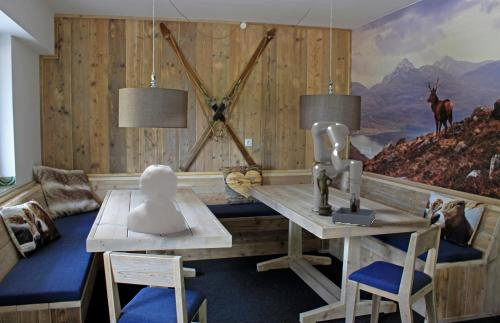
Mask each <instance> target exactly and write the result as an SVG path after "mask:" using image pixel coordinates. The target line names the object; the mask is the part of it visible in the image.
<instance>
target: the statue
mask: <svg viewBox="0 0 500 323" xmlns="http://www.w3.org/2000/svg"><path fill="white" fill-rule="evenodd" d="M320 172H321V175H320V176H318V177H317V178H316V181H317V186H318V189H319V192H320V195H321V200H322V204H321V206H318V208H319V210H318V212H317V214H318V213H319V215H333V209H332V208H333V205H331V204H329V195H330V193H329V192H330V190H329V187H331V186H332V184H333V181H334V180H333V178H330V177H329V176H327V175H325V173H326V169H324V168H322V169H321V170H320ZM328 181H329V183H328V184H327V182H328ZM319 182H320V184H319ZM320 185H321V187H320ZM324 195H326V197H325V202H326V204H325V205H324Z"/></svg>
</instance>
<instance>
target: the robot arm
mask: <svg viewBox="0 0 500 323" xmlns="http://www.w3.org/2000/svg"><path fill="white" fill-rule="evenodd" d="M310 131H311V132H310V133H311V138H312V142H313V156H314V160H315V161H316V162H319V163H318V164H315V165H314V166H313V167H312V174H313V175H312V176H313V206H312V207H311V208H310V210H311V209H312V210H319V208H318V206H321V204H322V200H321V195H320V192H319V189H318V186H317V181H316V178H317V177H318V176H320V175H321V172H320V170H321V169H322V168H324V169H326V173H325V175H327V176H329V177H330V178H331V179H333V178H336V177H337V176H338V174H339V173H349V175H348V176H349V178H348V184H349V185H350V186H349V197H348V199H349V201H350V200H351V199H352V204H351V212H357V206H356V203H357V200H359V199H360V200H361V198H360V197H361V185H362V184H363V161H361V160H355V159H341V158H340V155H339V152H341V151H342V150H343V149H345V148H346V146H347V142H346V140H345V138H347V137H348V136H349V134H350V132H349V131H350V130H349V128H348V126H347V125H346V124H343V123H341V122H340V123H339V122H337V121H317V122H314V123H313V125H312V126H311V130H310ZM323 135H327V136H328V138H329V142H330V144H331V145H332V146H331V147H328V146H327V141H326V139H325V137H324V136H323ZM324 162H327V163H324ZM319 184H320V182H319ZM327 184H329V183H328V181H327ZM320 187H321V185H320ZM325 197H326V195H324V205H325V204H326V202H325ZM354 199H355V200H354ZM354 201H355V202H354ZM312 210H311V211H312Z"/></svg>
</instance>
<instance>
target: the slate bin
mask: <svg viewBox="0 0 500 323" xmlns="http://www.w3.org/2000/svg"><path fill="white" fill-rule="evenodd" d="M376 211H377V210H376V209H369V208H368V209H367V208H360V213H359V214H355V213H350V207H344V206H340V207H339V208H338V209H336V210H335V211H334V212H332V220H331V221H332V222H341V223H350V224H359V225H365V226H366V227H367V228H370V227H371V226H372V225H371V223H372V221H373V220H374V219H375V220H376ZM332 222H331V223H332ZM372 224H373V223H372ZM370 225H371V226H370Z"/></svg>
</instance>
